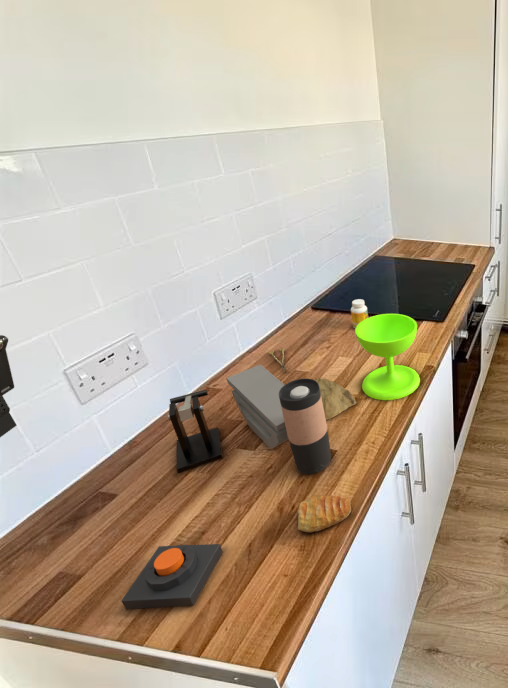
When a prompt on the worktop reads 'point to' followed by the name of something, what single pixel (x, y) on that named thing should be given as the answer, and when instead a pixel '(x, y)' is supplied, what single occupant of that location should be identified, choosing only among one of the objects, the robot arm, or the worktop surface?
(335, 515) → the pastry
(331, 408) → the rock
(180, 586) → the button block
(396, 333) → the wineglass
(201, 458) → the switch bracket
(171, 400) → the switch lever
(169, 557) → the button
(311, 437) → the travel mug
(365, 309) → the supplement bottle
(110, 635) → the worktop surface
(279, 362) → the tongs
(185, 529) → the worktop surface
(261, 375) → the sharpening stone
